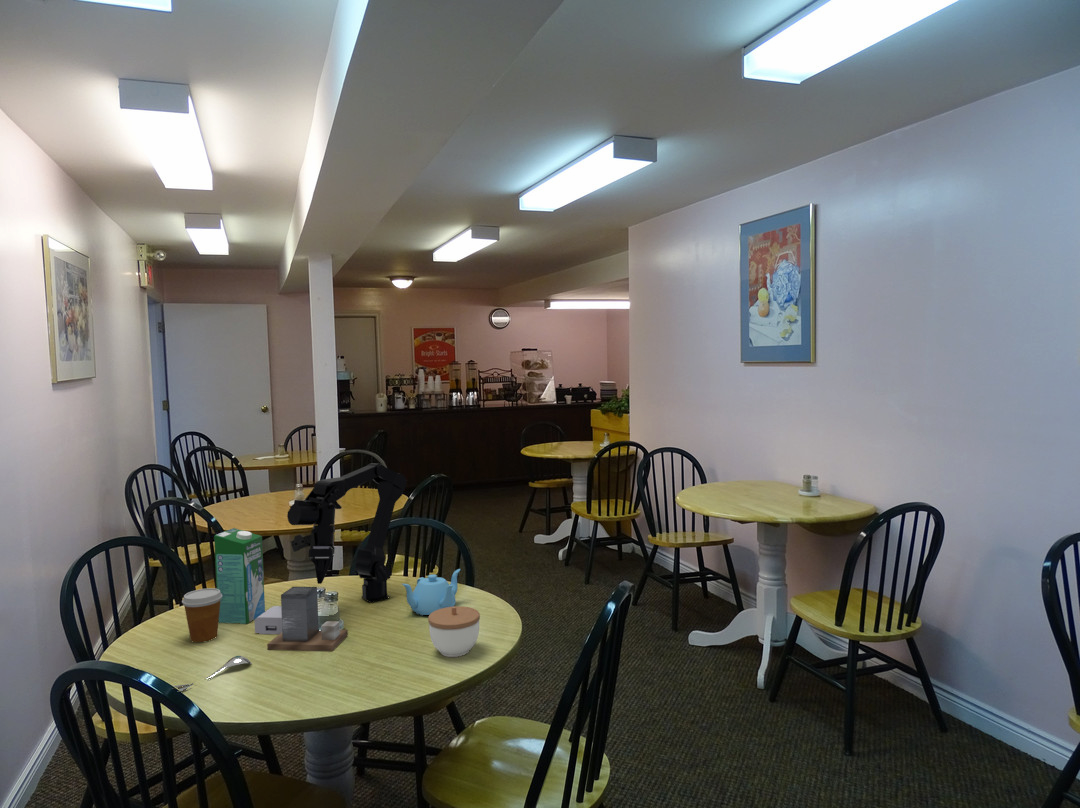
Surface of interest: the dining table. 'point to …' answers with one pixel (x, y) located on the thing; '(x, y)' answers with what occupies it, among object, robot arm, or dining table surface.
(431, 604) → the teapot
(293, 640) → the dark grey tall block
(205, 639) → the disposable coffee cup
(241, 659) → the silver metal spoon
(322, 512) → the robot arm
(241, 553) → the milk carton
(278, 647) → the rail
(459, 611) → the lidded bowl
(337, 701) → the dining table surface
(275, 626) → the charger
